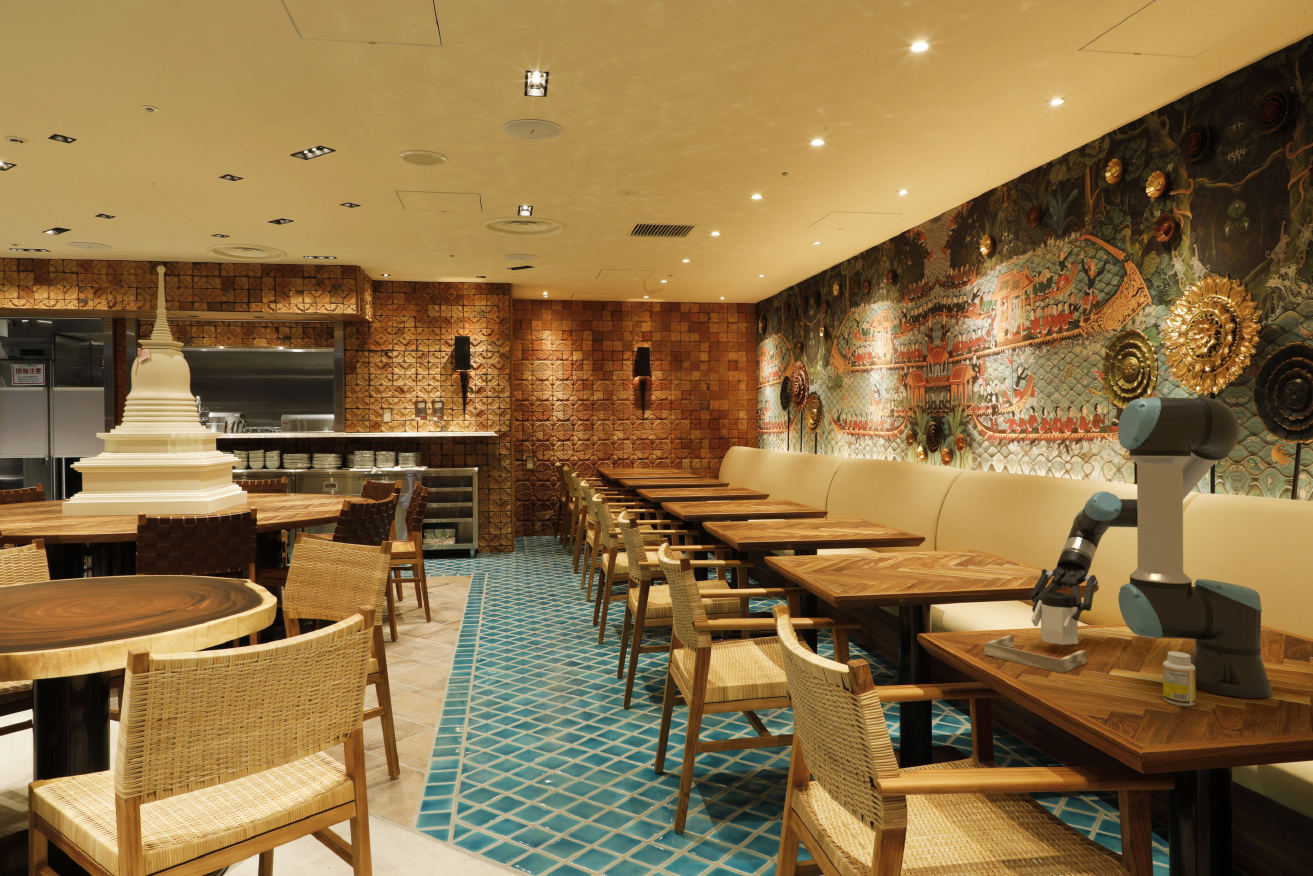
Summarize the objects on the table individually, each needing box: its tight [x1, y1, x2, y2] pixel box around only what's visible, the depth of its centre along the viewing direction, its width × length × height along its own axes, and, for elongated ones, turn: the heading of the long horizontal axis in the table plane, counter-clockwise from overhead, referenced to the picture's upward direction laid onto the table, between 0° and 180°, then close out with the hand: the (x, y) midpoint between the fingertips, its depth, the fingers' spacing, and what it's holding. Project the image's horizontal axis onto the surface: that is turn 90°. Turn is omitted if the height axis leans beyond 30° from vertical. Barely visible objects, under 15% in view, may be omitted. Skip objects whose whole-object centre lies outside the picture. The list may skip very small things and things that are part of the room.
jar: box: [1040, 591, 1079, 646], centre depth 194 cm, size 9×8×12 cm
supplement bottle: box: [1162, 650, 1197, 707], centre depth 156 cm, size 6×6×10 cm
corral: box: [983, 634, 1087, 674], centre depth 187 cm, size 14×19×3 cm
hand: (1050, 625), depth 192 cm, fingers closed on jar, 7 cm apart
